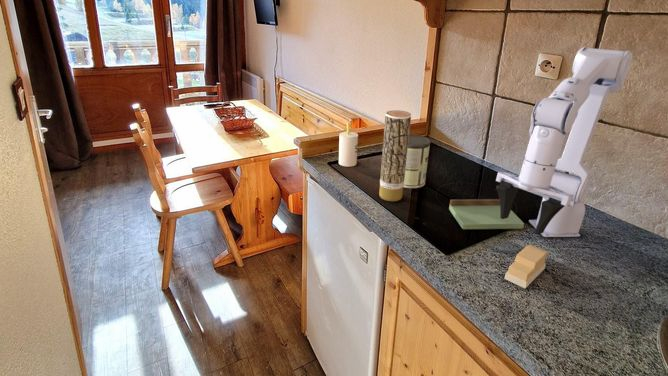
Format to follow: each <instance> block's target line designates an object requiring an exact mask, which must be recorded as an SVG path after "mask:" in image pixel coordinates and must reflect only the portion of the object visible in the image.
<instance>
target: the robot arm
mask: <svg viewBox="0 0 668 376" xmlns="http://www.w3.org/2000/svg"><path fill="white" fill-rule="evenodd" d="M632 61H633V54H632V52H631V51H630V50H616V49H605V48H595V47H593V48H592V47H587V46H582V47H581V48H580V49H579V50H578V51H577V52H576V54H575V57H574V59H573V63H572V69H571V70H572V71H571V72H572V76H571V77H567V78H565V79H563V80H562V81H561V82H560V83H559V84H558V85H557V87H556V88H555V89H554V90H553V91H552V92H551V93H550V95H549V96H548V97H544V98H542V99H538V100H537V101H536V103H535V105H534V106H533V109H532V112H531V115H530V126H529V130H528V136H529V140H528V144H527V147H526V151H525V154H524V158H523V162H522V165H521V168H520V172H519V175H518V174H514V173H510V172H507V171H498V172H497V175H496V178H495V182H498V183H499V184H496V188H495V189H496V191H497V192H496V193H497V195H498V199H499V200H500V218H501V219H505V218H508V216H509V214H510V211H511V210H512V207H513V203H514V201H515V198H516V195H517V193H518V191H519V190H523V191H526V192H529V193H531V194H534V195H537V196H540V197H542V200H541V203H540V206H539V207H540V208H539V211H538V214H537V218H536V219H529V220H528V223H529V224H530V225H531V226H532V227H533V228H534V229H535V232H534V233H535V234H537V235H541V236H542V237H544V238H579V237H581V234H580V229H581V226H582V225H583V224H582V223H583V220H584V218H585V215H586V205H585V203H584V199H585V198H586V196H587V195H588V191H589V189H590V184H591V180H592V172H591V170H590V169H589V168H588V167H587V166H586V164H585V163H584V161H585V157H586V154H587V151H588V149H589V146H590V144H591V141H592V138H593V136H594V132H595V130H596V127H597V125H598V122H599V119H600V117H601V114H602V111H603V108H604V106H605V103H606V101H607V100H608V98H609V96H610V95H611V94H613V93H617V92H620V91H621V89H622V87H623V86H624V83H625V81H626V78H627V77H628V76H627V75H628V73H629V70H630V67H631V64H632ZM568 133H569V135H568V138H567V141H566V143H565V145H564V142H565V138H566V136H567V134H568ZM563 145H564V146H565V147H564V149H563V152H562V148H563ZM561 152H562V154H561ZM560 154H561V157H560Z"/></svg>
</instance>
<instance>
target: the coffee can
mask: <svg viewBox="0 0 668 376" xmlns="http://www.w3.org/2000/svg"><path fill="white" fill-rule="evenodd" d="M431 143H432V140H431V139H430V138H428V137H426V136H423V135H419V134H409V141H408V150H407V159H406V168H405V178H404V186H403V188H405V189H420V188H422V187H424V186H425V185H426V179H427V172H428V171H427V169H428V163H429V153H430V146H431Z"/></svg>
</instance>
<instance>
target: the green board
mask: <svg viewBox="0 0 668 376" xmlns="http://www.w3.org/2000/svg"><path fill="white" fill-rule="evenodd" d="M448 210H449V211H450V213H451V215H452V216H453V217H454V219H455V220H456V222H457V223H458V225H459V226H460V228H461V229H462V230H515V229H516V230H519V229H521V230H522V229H523V230H524V227H525V222H523V220H521V218H519V217H518V215H517V214H516V213H515V212H514V211H513V210H512V209H511V211H510V214H509V216H508V218H505V219H501V218H500V200H499V198H483V199H482V198H475V199H473V198H471V199H469V198H468V199H465V198H464V199H463V198H462V199H450V200H449V207H448Z"/></svg>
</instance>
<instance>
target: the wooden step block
mask: <svg viewBox="0 0 668 376" xmlns="http://www.w3.org/2000/svg"><path fill="white" fill-rule="evenodd" d="M547 255H548V251H547V250H545V249H542V248H540V247H537V246H535V245H532V244H530V243H529V244H527V245H526V246H525V247H524V248H523V249H521V251H519V252H518V253H517V254H516V255H515V259H514V262H512V263H511V264H510V265H508V270H507V271H506V272H505V273H504V274H505V275H504V280H506V281H508V282H510V283H512V284H514V285H517V286H518V287H521V288H522V289H527V287H528V286H530V285H531V283H532V282H533V281H534V280H535V279H536V278H537V277H539V276H540V274H541V273H542V272H544V270H545V268H546V265H547V263H546V259H547Z"/></svg>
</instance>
